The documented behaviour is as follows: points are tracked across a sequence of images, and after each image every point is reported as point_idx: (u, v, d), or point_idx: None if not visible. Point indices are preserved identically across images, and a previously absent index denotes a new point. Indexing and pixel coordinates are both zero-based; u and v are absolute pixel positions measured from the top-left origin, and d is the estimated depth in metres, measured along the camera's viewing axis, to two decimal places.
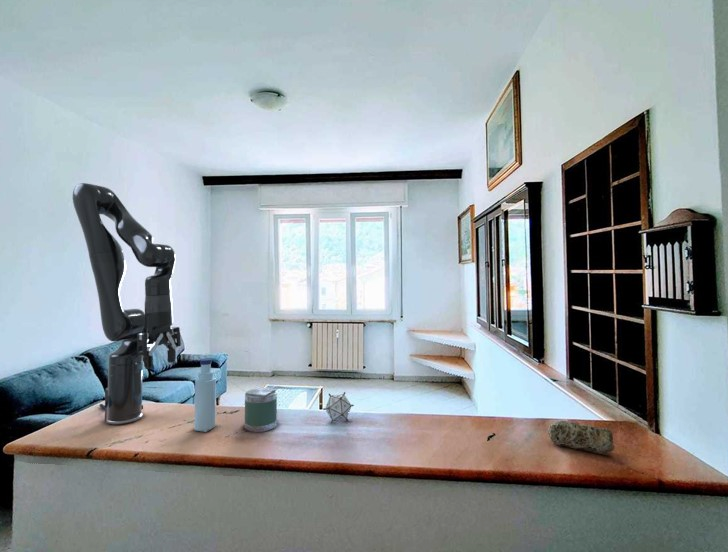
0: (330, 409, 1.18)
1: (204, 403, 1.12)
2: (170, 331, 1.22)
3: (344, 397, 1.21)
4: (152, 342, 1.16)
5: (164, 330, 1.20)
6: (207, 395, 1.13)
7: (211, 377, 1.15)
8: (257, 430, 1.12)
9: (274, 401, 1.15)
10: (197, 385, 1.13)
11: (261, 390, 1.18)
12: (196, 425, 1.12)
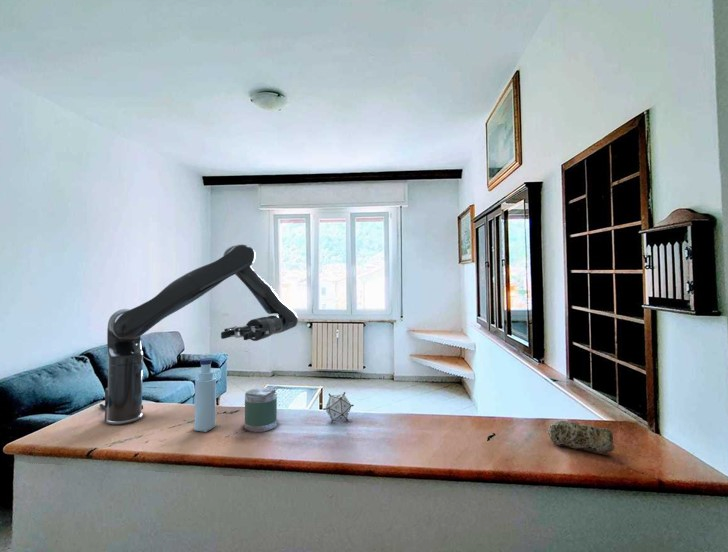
0: (330, 409, 1.18)
1: (204, 403, 1.12)
2: None
3: (344, 397, 1.21)
4: None
5: None
6: (207, 395, 1.13)
7: (211, 377, 1.15)
8: (257, 430, 1.12)
9: (274, 401, 1.15)
10: (197, 385, 1.13)
11: (261, 390, 1.18)
12: (196, 425, 1.12)
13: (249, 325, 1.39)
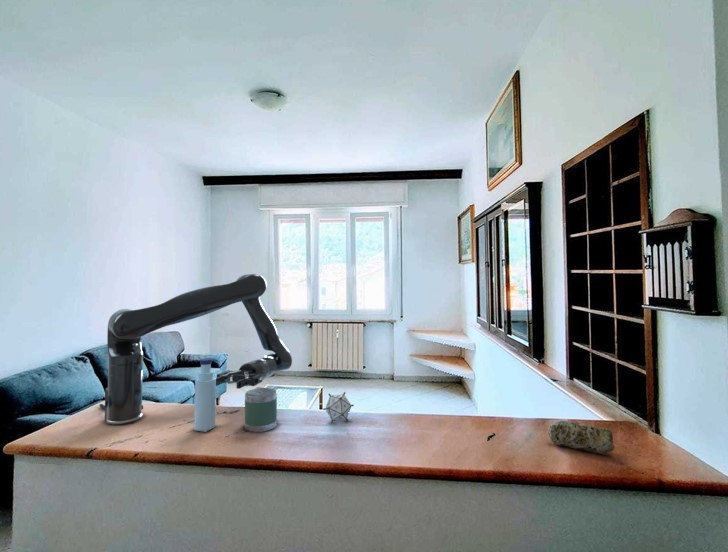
0: (330, 409, 1.18)
1: (204, 403, 1.12)
2: None
3: (344, 397, 1.21)
4: None
5: None
6: (207, 395, 1.13)
7: (211, 377, 1.15)
8: (257, 430, 1.12)
9: (274, 401, 1.15)
10: (197, 385, 1.13)
11: (261, 390, 1.18)
12: (196, 425, 1.12)
13: (242, 369, 1.35)
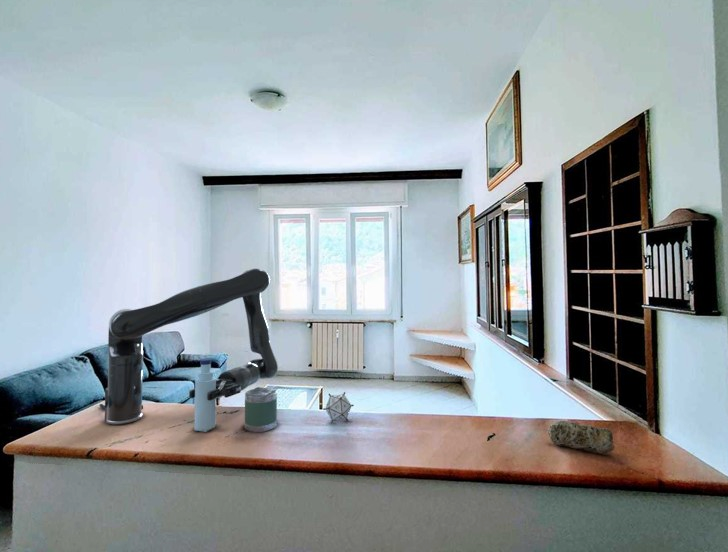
0: (330, 409, 1.18)
1: (204, 403, 1.12)
2: None
3: (344, 397, 1.21)
4: None
5: None
6: (207, 395, 1.13)
7: (211, 377, 1.15)
8: (257, 430, 1.12)
9: (274, 401, 1.15)
10: (197, 385, 1.13)
11: (261, 390, 1.18)
12: (196, 425, 1.12)
13: (221, 378, 1.25)
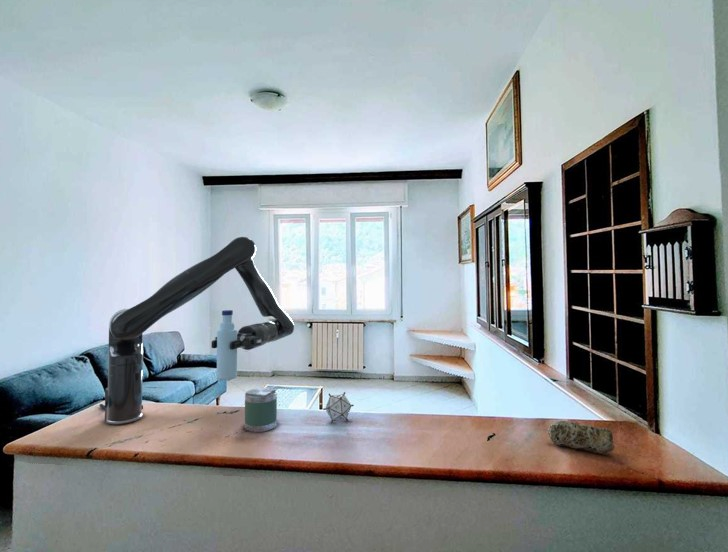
0: (330, 409, 1.18)
1: (226, 353, 1.14)
2: None
3: (344, 397, 1.21)
4: None
5: None
6: (229, 345, 1.14)
7: (233, 328, 1.16)
8: (257, 430, 1.12)
9: (274, 401, 1.15)
10: (219, 335, 1.14)
11: (261, 390, 1.18)
12: (219, 374, 1.14)
13: (241, 332, 1.26)
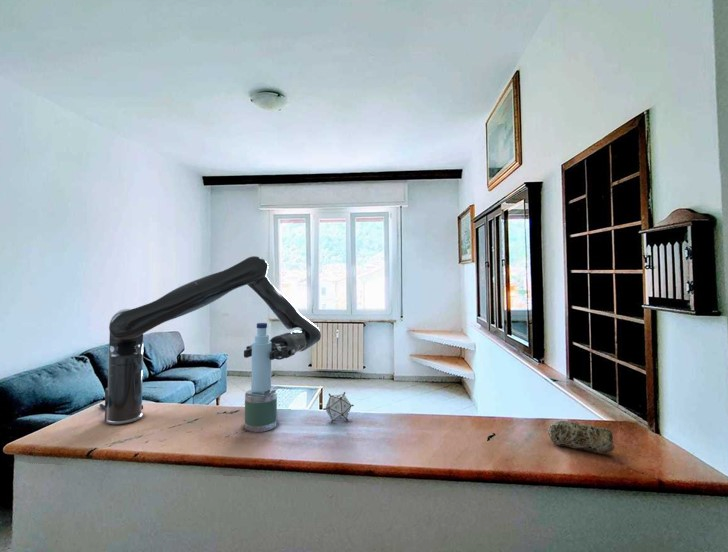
0: (330, 409, 1.18)
1: (262, 365, 1.15)
2: None
3: (344, 397, 1.21)
4: None
5: None
6: (264, 358, 1.15)
7: (267, 340, 1.17)
8: (257, 430, 1.12)
9: (274, 401, 1.15)
10: (254, 348, 1.15)
11: None
12: (254, 387, 1.15)
13: (272, 342, 1.27)
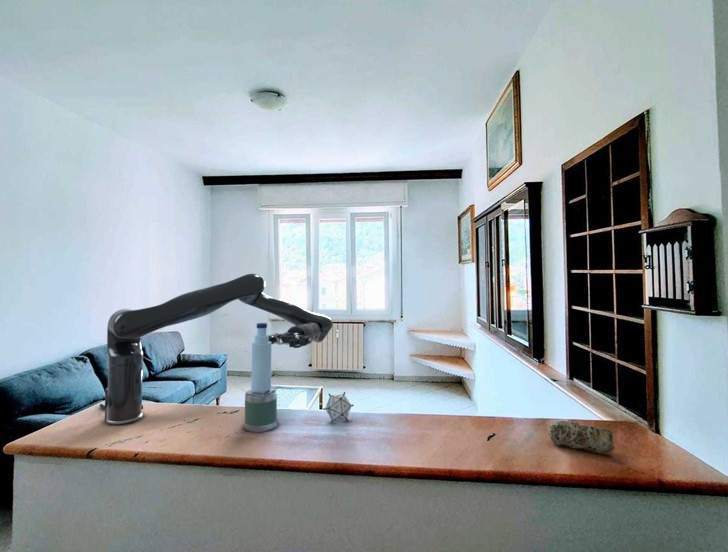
0: (330, 409, 1.18)
1: (262, 365, 1.15)
2: None
3: (344, 397, 1.21)
4: None
5: None
6: (264, 358, 1.15)
7: (267, 340, 1.17)
8: (257, 430, 1.12)
9: (274, 401, 1.15)
10: (254, 348, 1.15)
11: None
12: (254, 387, 1.15)
13: (290, 332, 1.38)
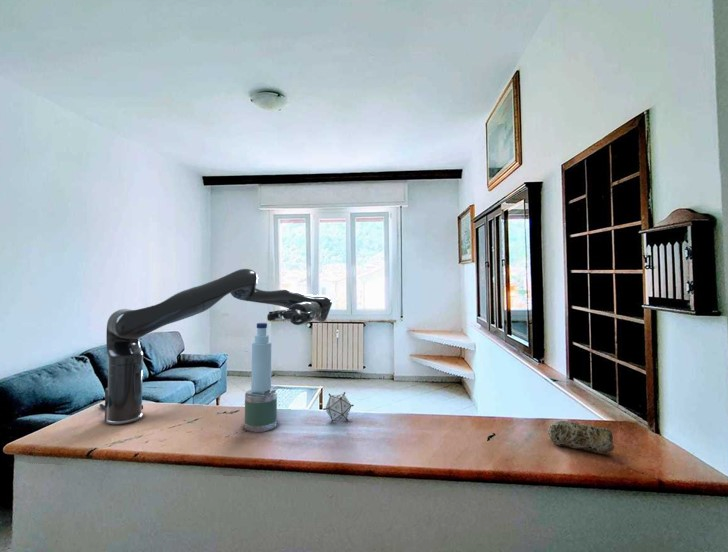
0: (330, 409, 1.18)
1: (262, 365, 1.15)
2: None
3: (344, 397, 1.21)
4: None
5: None
6: (264, 358, 1.15)
7: (267, 340, 1.17)
8: (257, 430, 1.12)
9: (274, 401, 1.15)
10: (254, 348, 1.15)
11: None
12: (254, 387, 1.15)
13: (292, 309, 1.40)
